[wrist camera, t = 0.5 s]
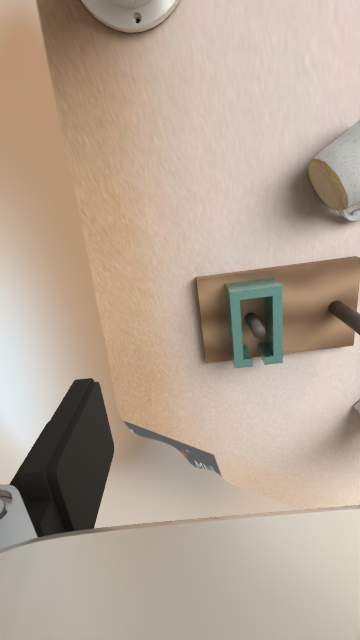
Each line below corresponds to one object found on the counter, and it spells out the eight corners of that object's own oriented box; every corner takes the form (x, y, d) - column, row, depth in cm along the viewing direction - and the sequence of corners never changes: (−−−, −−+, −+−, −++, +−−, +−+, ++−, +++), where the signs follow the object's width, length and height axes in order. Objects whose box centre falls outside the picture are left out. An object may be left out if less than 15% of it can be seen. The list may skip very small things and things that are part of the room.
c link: (224, 283, 42) (229, 292, 38) (272, 277, 41) (282, 285, 38) (230, 354, 46) (235, 368, 42) (273, 348, 45) (282, 362, 42)
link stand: (196, 277, 43) (206, 323, 27) (355, 256, 42) (458, 291, 27) (205, 358, 48) (218, 435, 32) (348, 340, 47) (431, 411, 31)
